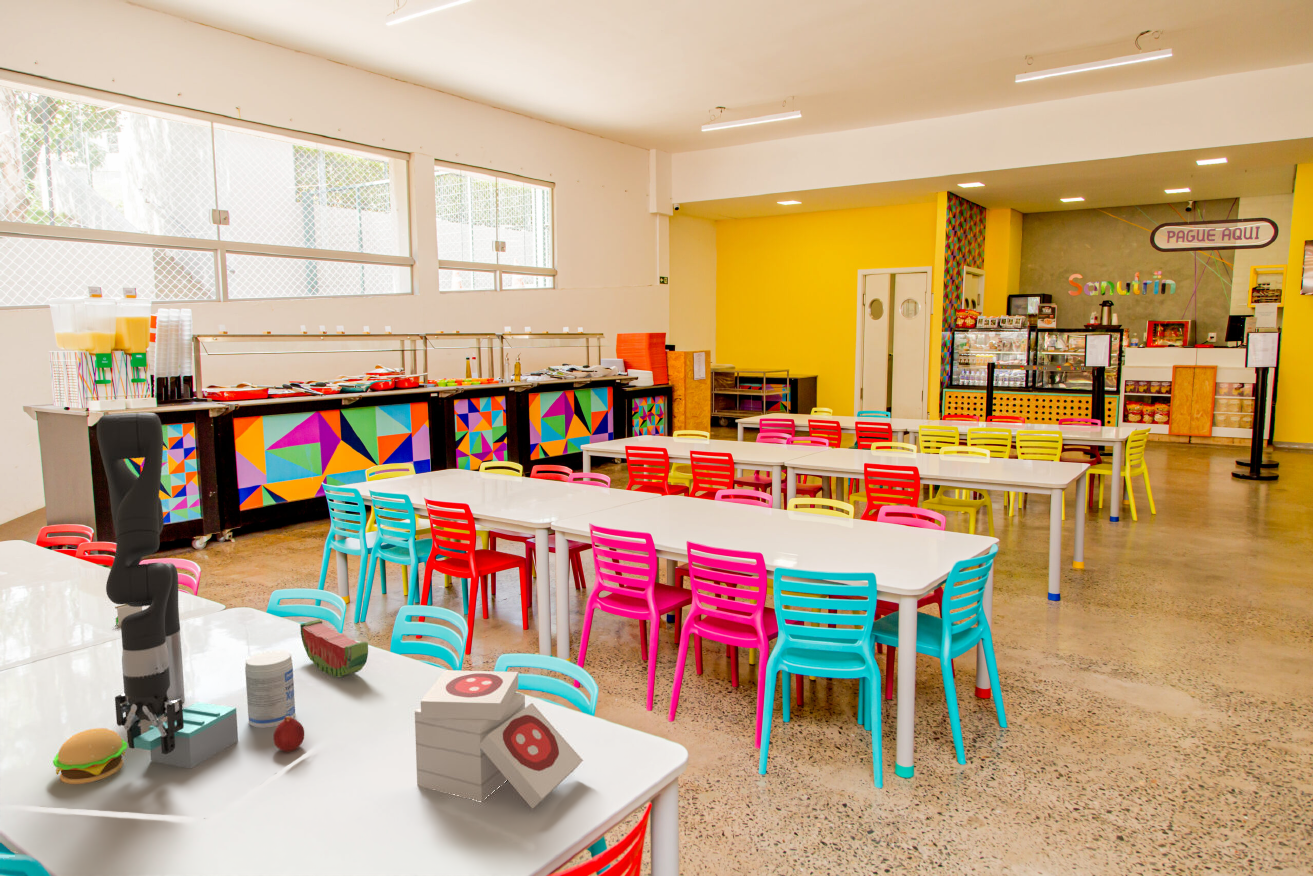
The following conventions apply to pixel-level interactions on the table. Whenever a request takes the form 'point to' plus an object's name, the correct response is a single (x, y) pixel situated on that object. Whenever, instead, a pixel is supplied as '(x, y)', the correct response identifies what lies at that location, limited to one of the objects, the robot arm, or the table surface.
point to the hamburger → (90, 756)
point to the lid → (187, 723)
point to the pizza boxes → (487, 739)
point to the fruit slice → (333, 649)
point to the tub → (199, 745)
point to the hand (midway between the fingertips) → (151, 749)
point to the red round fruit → (289, 734)
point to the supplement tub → (269, 688)
